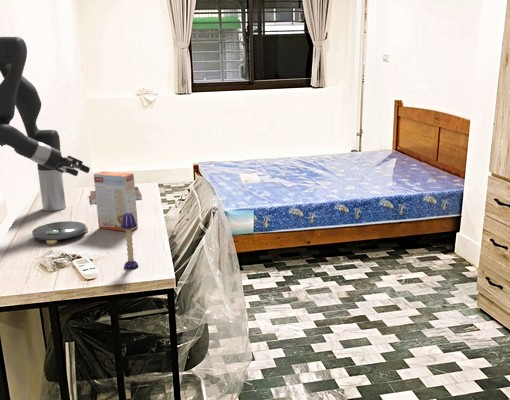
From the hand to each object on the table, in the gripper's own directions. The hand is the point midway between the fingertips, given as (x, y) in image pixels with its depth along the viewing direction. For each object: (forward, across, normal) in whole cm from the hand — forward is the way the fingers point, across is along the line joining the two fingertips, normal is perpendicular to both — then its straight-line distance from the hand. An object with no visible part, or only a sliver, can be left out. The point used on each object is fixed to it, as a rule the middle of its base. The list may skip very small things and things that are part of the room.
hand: (83, 172), depth 210 cm
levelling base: (-4, -5, +27) cm, 28 cm away
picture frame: (+31, +25, -4) cm, 40 cm away
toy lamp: (+1, -48, +38) cm, 61 cm away
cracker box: (+13, -14, +19) cm, 27 cm away
